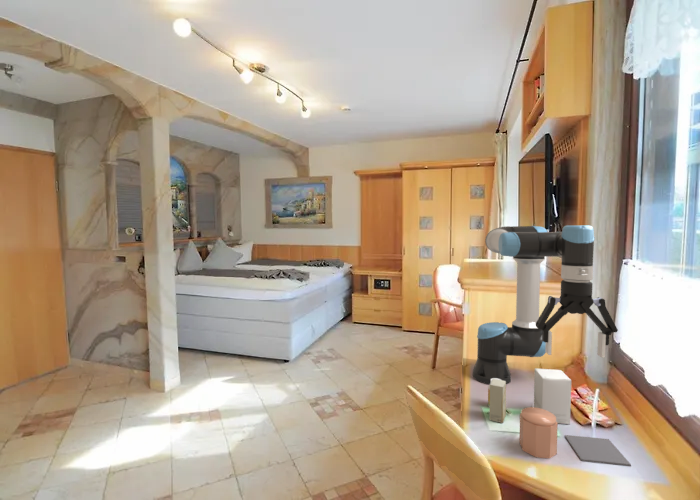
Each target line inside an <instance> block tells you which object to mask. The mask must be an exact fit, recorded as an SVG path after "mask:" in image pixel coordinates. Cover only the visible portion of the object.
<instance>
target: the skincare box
mask: <svg viewBox="0 0 700 500" xmlns="http://www.w3.org/2000/svg"><path fill="white" fill-rule="evenodd" d="M489 385H490V407H489V419H488V420H489V421H492V422H497V423H500V424H503V423H504V421H505V419H506V416H507V384H506V381H503V380H498V379H493V380H492V381H491V383H490V384H489Z"/></svg>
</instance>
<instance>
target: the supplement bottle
mask: <svg viewBox="0 0 700 500" xmlns="http://www.w3.org/2000/svg"><path fill="white" fill-rule="evenodd" d="M493 379H498V378H492V379H491V380H490V383H491V381H492V380H493ZM498 380H501V379H498ZM487 407H489V408H490V384H488V389H487Z"/></svg>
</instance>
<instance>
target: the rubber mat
mask: <svg viewBox="0 0 700 500" xmlns="http://www.w3.org/2000/svg"><path fill="white" fill-rule="evenodd" d="M564 437H565V439H566V440H567V442H568V443H569V445H570V446H571V448H572V449H573V451H574V452H575V454H576V455H577V457H578V458H579V459H580V461H581V462H589V463H598V464H608V465H617V466H625V467H632V464H631V463H630V462H629V460H628V459H627V458H626V457H625V456H624V455H623V453H621V451H620V450H619V449H618V448H617V447H616V446H615V445H614V443H613V442H612V441H611V440H610V439H609V438H603V437H602V438H601V437H592V436H591V437H590V436H580V435H579V436H578V435H569V434H565V435H564Z"/></svg>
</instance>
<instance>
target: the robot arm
mask: <svg viewBox="0 0 700 500" xmlns="http://www.w3.org/2000/svg"><path fill="white" fill-rule="evenodd" d="M561 230H562V231H550V232H549V231H547V229H546V228H545V227H544V226H539V225H538V226H536V225H527V226H524V225H522V226H521V225H520V226H519V225H518V226H500V227H496V228H493V229H492V230H490V231H489V232H488V233H487V234H486V236H485V241H484V242H485V246H486V248H487V249H488V250H489V251H491V252H492V253H496V254H499V255H501V256H503V257H512V258H513V260H514V261H515V262H516V302H515V303H516V305H515V307H516V308H515V315H516V316H515V320H513V321H512V322H511V327H509V326H508V325H507V324H506V323H504V322H498V321H495V322H494V321H492V322H486V323H483V324H481V325H479V326H478V327H477V328H478V329H477V336H476V338H477V353H476V354H477V358H476V362H475V365H474V367H473V370H472V377H473V379H474V380H475V381H477V382H480V383H481V384H486V385H490V380H491V379H492V378H498V379H501V380H503V381H506V385H508V384H510V383H511V381H512V375H511V372H510V369H509V366H508V363H507V357H508V356H511V357H528V358H541V357H543V356H544V355H545V354H547V355H549V356H552V348H553V347H552V342H553V341H552V340H553V332H552V331H551V329H552V328H554V326H556V324H557V323H558V322H559V321H560V320H561V319H562V318H563V317H564V316H566V315H568V314H573V315H575V314H578V315H584V314H585V315H587V316H588V318H590V320H591V321H592V322H593V323H594V324H595V325H596V326H597V328H598V329H599V330H600V331H598V332H597V355H598V356H599V357H600V358H603V359H605V358H606V346H609V345H610V336H611V335H612V333H617V332H618V331H619V330H618V328H617V325H616V324H615V322H614V320H613V319H612V316H611V314H610V311H608V309H607V307H606V300H605V298H602V297H599V296H598V297H595V298H593V282H592V280H593V278H594V277H593V276H594V275H593V274H594V273H593V272H594V264H593V263H594V245H595V232H594V231H595V230H594V227H593V226H592V225H582V224H581V225H564V226H563V228H562V229H561ZM545 257H547V258H550V257H552V258H553V257H554V258H555V257H559V258H560V257H561V266H560V267H561V269H560V270H561V272H560V278H561V279H562V280H561V281H560V296H559V297H553V296H552V295H549V296H548V297H547V303H546V305H545V306H544V308H543V310H542V311H541V314H540V291H541V290H540V288H541V263H542V262H544V261H545ZM558 303H559V304H560V305H561V306H560V307H558V308H557V311H555V313H554V314H552V312H553V310H554V308H555V306H557V305H558ZM593 304H594V306H596V307H597V309H598V311H599V313H600V314H601V317H602V319H603V321H604V322H602V321H601V320H600V318H599V317H598V316H597V314H595V312H594V311H593V310H592V309H591V306H593ZM551 314H552V316H551V317H550V315H551ZM549 317H550V318H549ZM604 323H605V324H606V325H605V324H604Z"/></svg>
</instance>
